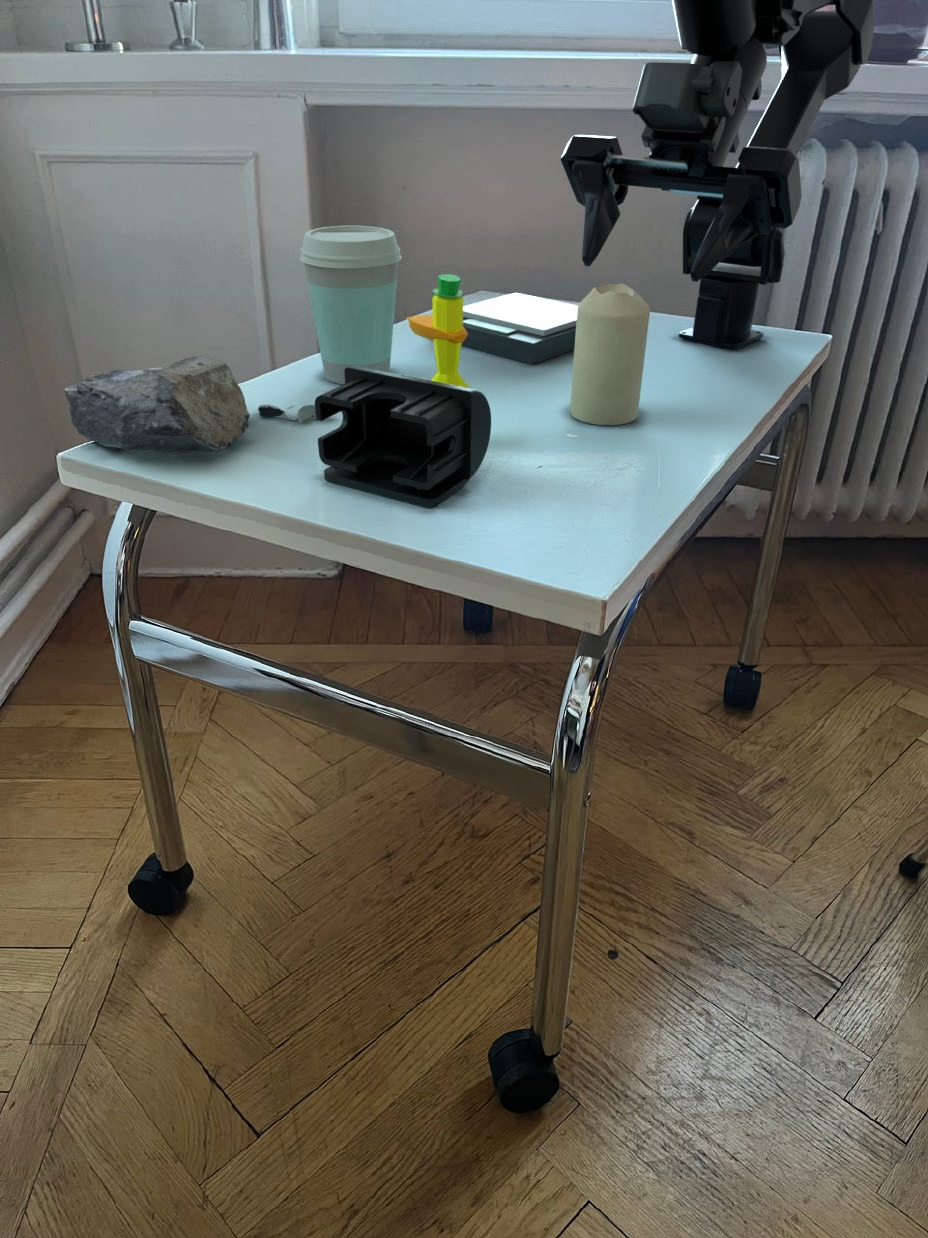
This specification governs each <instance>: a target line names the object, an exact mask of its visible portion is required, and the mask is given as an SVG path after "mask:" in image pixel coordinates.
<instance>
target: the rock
mask: <svg viewBox="0 0 928 1238" xmlns="http://www.w3.org/2000/svg"><path fill="white" fill-rule="evenodd" d="M63 392H64V394H65V397H66V399H67V401H68V404H69V405H70V406H69V413H70V418H71V424H72V425H73V426H74V427H75V429H76V430H77V434H79V435H81V436H83V437H85V438H86V439H87V440H88V441H90V442H94V443H98V444H99V445H100V446H104V447H109V448H117V449H118V448H119V449H121V450H125V451H132V452H133V451H134V452H136V451H137V452H140V451H141V452H143V451H150V452H157V453H162V454H163V453H165V454H166V453H177V454H178V455H186V454H195V453H213V452H214V453H215V452H220V451H221V452H222V451H224V450H227V449H228V448H230V447H231V446H232V445H233V444H234V443H235V441H236V440H237V439H239V438H241V437H245V433H246V431H247V429H248V428H249V423H250V422H249V419H250V417H251V414H250V413H249V411H248V407H247V404H246V399H245V395H244V393H243V391H242V389H241V387H240V385H239V383H238V382H237V381H236V379H235V376H234V374H233V371H232V370H231V368H230V366H229V365H228V364H227V363H226V362H224V361H222V360H219V359H214V358H211V357H207V356H203V355H200V356H190V357H186V358H183V359H181V360H178V361H175V362H174V363H172V364H170V365H169V366H167V367H149V368H143V369H137V370H131V369H125V370H124V369H114V370H109V371H101V372H99V373H95V374H92V375H90V376H87V377H83V378H82V379H80V380H79V381H77V382H75V383H73V384H72V385H68V386H67V387H65V388H63Z"/></svg>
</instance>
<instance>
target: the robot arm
mask: <svg viewBox="0 0 928 1238" xmlns="http://www.w3.org/2000/svg"><path fill="white" fill-rule="evenodd" d="M671 3H672V8H673V12H674V18H675V23H676V29H677V33H678V39H679V44H680V48H681V49H682V50H683V51H687V52H689V53H690V54H693V57H692V60H691V62H664V61H663V62H661V61H660V62H658V61H655V62H654V61H652V62H651V61H650V62H646V63H645V64H644V65H643V68H642V71H641V75H640V79H639V83H638V87H637V91H636V94H635V97H634V102H633V105H632V108H631V109H632V113H633V114H634V115H635V116H637V115H638V117H639V118H640V119H641V121H642V122H643V124H644V125H645V127H644V128H643V131H642V133H641V137H640V138H641V141H642V144H643V147H644V148H649V149H650V153H649V155H648V157H647V156H638V155H637V156H635V155H624V154H623V151H622V148H621V145H620V141H619V139H618V137H617V136H606V135H590V134H589V135H588V134H576V135H575V134H574V135H572V137H571V138H570V139H569V141H568V142H567V144H566V146H565V148H564V150H563V153H562V155H561V157H560V159H559V160H560V162H561V164H562V167H563V169H564V173H565V175H566V178H567V180H568V183H569V185H570V187H571V189H572V192H573V195H574V197H575V199H576V202H577V203H578V204H580V205H581V206H583V207H584V224H583V235H582V236H583V239H582V249H581V250H582V253H581V260H582V263H583V265H584V266H585V267H591V266H592V264H593V263H594V262H595V260H596V259H597V258H598V256H599V255H600V253H601V251H602V249H603V247H604V245H605V244H606V242H607V240H608V238H609V236H610V235H611V233H612V232H613V229H614V227H615V226H616V224H617V222H618V220H619V218H620V216H621V212H620V208H619V206H620V205H621V204H624V202H625V200H626V197H627V195H628V192H629V187H639V188H648V189H649V188H650V189H661V191H663V192H664V191H666V192H670V193H672V194H676V195H677V194H679V195H690V196H696V199H697V201H696V202H695V204H694V205H693V207H691V208H690V209H689V210H688V213H687V214H686V217H685V220H684V224H683V230H682V274H683V275H690V279H691V282H692V283H693V282H694V283H697V282H699V288H698V294H697V299H696V307H695V313H694V321H693V326H692V327H690V328H687V329H684V330H682V331H679V333H678V338H679V339H684V340H689V341H693V342H698V343H701V344H702V343H703V344H706V345H711V346H717V347H721V348H726V349H730V350H737V349H739V348H742V347H744V346H746V345H748V344H751V343H753V342H755V341H758V340H760V339H763V337H764V334H765V333H764V332H763V331H760V330H755V329H752V326H753V322H754V316H755V311H756V304H757V299H758V292H759V288H760V285H761V286H766V285H768V284H773V283H774V284H775V283H780V282H781V280H782V279H781V278H782V275H783V268H784V261H785V255H786V251H785V244H784V243H785V242H784V233H783V229H787V228H789V227H791V226H792V225H793V223H794V221H795V218H796V217H797V214H798V211H799V208H800V206H801V201H802V196H803V195H802V183H801V170H800V161H799V159H800V158H799V156H798V154H799V152H800V150H801V149H802V146H803V144H804V143H805V140H806V138H807V136H808V134H809V132H810V130H811V129H812V126H813V124H814V122H815V120H816V118H817V117H818V114H819V111H821V108H822V106H823V104H824V102H825V101H826V100H828V99H830V98H831V97H833V96H835V95H837V94H838V93H840V92H842V91H844V90H846V89H847V88H848V87H850V86H851V83H852V82H853V80H854V79H855V77H856V76H857V74H858V72H859V71H860V68H861V66H864V65H866V63H867V62H868V60H869V56H870V54H871V50H872V47H873V46H872V45H873V40H874V30H875V28H874V27H875V24H874V23H875V21H874V1H873V0H671ZM827 6H834V7H835V10H820V9H822V8H825V7H827ZM765 47H778V52H779V53H778V54H779V59H780V61H781V79H780V81H779V84H778V85H777V88H776V89H775V91H774V93H773V95H772V97H771V99H770V101H769V103H768V105H767V107H766V108H765V111H764V113H763V115H762V117H761V118H760V120H759V122H758V124H757V126H756V128H755V129H754V131H753V134H752V136H751V138H750V140H749V141H748V143H747V146H743V147H742V149H741V152H740V154H739V156H738V159H737V160H738V161H737V162H738V163H737V164H736V166H735V167H733V166H732V167H731V166H724V165H725V162H726V160H727V157H728V156H729V154H730V153H731V154H735V153H737V150H738V148H739V146H740V143H741V141H740V136H739V130H740V128H741V126H742V123H743V121H744V118H745V116H746V114H747V112H748V109H749V107H750V105H751V102H752V101H759V100H760V99H761V95H762V86H763V83H762V77H763V74H764V72H765V70H766V68H767V63H768V62H767V61H768V57H767V52H766V48H765Z"/></svg>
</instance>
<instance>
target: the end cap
mask: <svg viewBox="0 0 928 1238" xmlns="http://www.w3.org/2000/svg"><path fill="white" fill-rule="evenodd" d="M344 373H345V384H340V386H339V385H338V386H337V387H334V388H333V389H331V390H328V391H326V392H324V393H322V394H320V395H318V396H317V397H316V398H315V399H314V405H315V413H316V417H315V420H316V421H318V422H323V421H325V420H326V419H328V418H331V417H333V416H334V415H337V414H338V413H341V414H342V421H341V423H340V426H339V427H337V428H335V429H333V430H331V431H330V432H328V433H325V434H323V435H322V436H320V437H318V438H317V447H318V457H319V459H320V461H321V462H322V463H323V464H324V465H326V466H329V467H327V468H325V469H324V470H323V476H324V481H327V482H329V483H333V484H337V485H339V486H344V487H347V488H352V489H355V490H359V491H362V492H367V493H370V494H374V495H378V496H381V497H386V498H389V499H393V500H397V501H400V502H404V503H409V504H411V505H415V506H419V507H424V508H428V509H433V508H437V507H439V506H440V505H441V504H443V503H444V502H445V501H447V500H448V499H450V498H451V497H452V496H454V495H455V494H456V493H458V492H460V491H461V490H462V489H463V488H464V487H465V486H466V485H467V483H469V480H470V479H472V477H473V476H475V474H476V473H477V471H478V470H479V468H480V466H481V465H482V464H483V461H484V459H485V456H486V454H487V451H488V449H489V448H488V447H489V444H490V439H491V433H492V412H491V407H490V403H489V401H488V399H487V396H486V395H485V394H484V393H483V392H482V391H480V390H479V389H476V388H472V387H471V388H472V389H471V388H465V387H460V386H455V385H450V384H445V383H440V382H435V381H431V380H429V379H425V378H420V377H414V376H408V375H404V374H398V373H393V372H383V371H378V370H373V369H368V368H363V367H357V366H351V367H347V368H345V370H344Z"/></svg>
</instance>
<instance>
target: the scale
mask: <svg viewBox="0 0 928 1238" xmlns="http://www.w3.org/2000/svg"><path fill="white" fill-rule="evenodd" d="M577 309H578V304H577V305H576V304H573V303H572V304H571V303H568V302H562V301H558V300H553V299H550V298H549V299H548V298H543V297H540V296H534V295H530V294H525V293H520V292H512V293H508V294H505V295H501V296H497V297H494V298H489V299H485V300H482V301H478V302H474V303H471V304H466V305H463V326H464V328H465V330H466V331H467V333H468V336H467V337H466V339H465V340H464V341H463V342H462V344H461V347H465V348H468V349H472V350H476V351H480V352H483V353H488V354H491V355H495V356H499V357H502V358H506V359H511V360H514V361H516V362H517V361H518V362H521V363H526V364H527V365H536V364H538V363H540V362H541V363H542V362H543V361H546V360H549V359H552V358H554V357H558V356H560V355H563V354H567V353H569V352H572V351H574V349H575V335H576V322H577Z"/></svg>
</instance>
